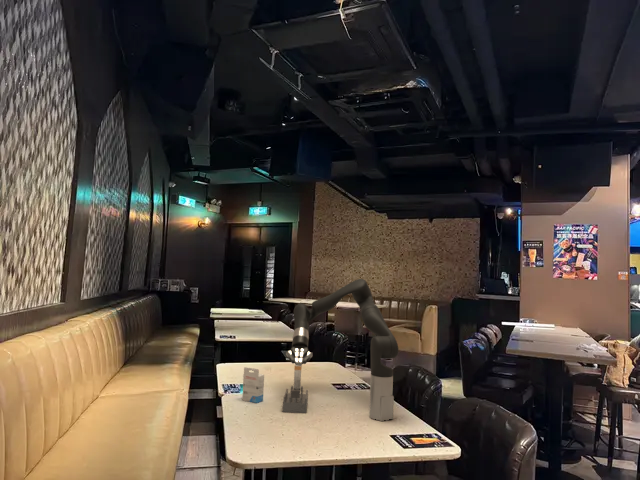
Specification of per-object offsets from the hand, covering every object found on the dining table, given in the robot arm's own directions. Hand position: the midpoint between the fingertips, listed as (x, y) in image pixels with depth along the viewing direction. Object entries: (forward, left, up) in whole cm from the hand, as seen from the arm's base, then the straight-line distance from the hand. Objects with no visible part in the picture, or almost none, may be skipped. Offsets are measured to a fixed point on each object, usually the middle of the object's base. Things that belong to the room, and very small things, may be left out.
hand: (297, 370), depth 209 cm
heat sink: (-6, +3, -14) cm, 16 cm away
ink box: (+11, +17, -15) cm, 25 cm away
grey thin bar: (-1, +1, -8) cm, 8 cm away
